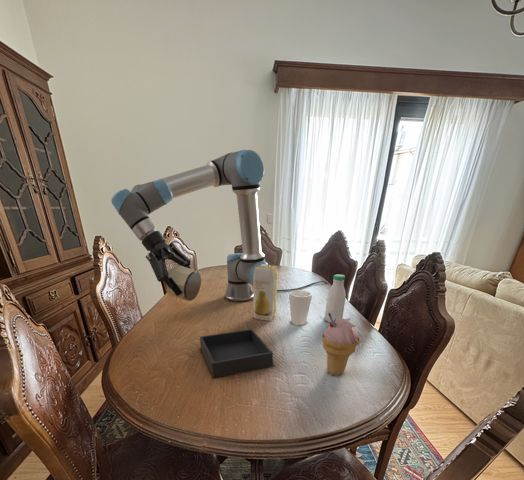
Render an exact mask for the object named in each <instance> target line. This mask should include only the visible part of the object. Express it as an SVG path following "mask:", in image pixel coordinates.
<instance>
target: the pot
mask: <svg viewBox="0 0 524 480" xmlns="http://www.w3.org/2000/svg"><path fill="white" fill-rule="evenodd" d="M168 276H169V278H170V277H171V278H172V279H173V280H174V282H175V283H176V284H177V286H178V287H179V288H180V290H181V291H182V293H181V294H180V295H178V296H176V294H175V293H174V292H173V290H172V289H170V288H169V287H168V285H167V284H166V283H165V285H166V286H165V287H166V292H167V293H168V294H169V295H171V296H172V297H175V298H178V299H181V300H183V301H186V302H192V301H194V300H195V299H196V298H197V296H198V295H199V292H200V290H201V285H202V276H201V274H200V273H199V272H198V271H196V269H193V268H191V269H190V268H187V267H184V266H180V265H178V264H177V265H175V266H173V267H172V268H170V270H169V272H168Z"/></svg>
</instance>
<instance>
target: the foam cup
mask: <svg viewBox="0 0 524 480" xmlns="http://www.w3.org/2000/svg"><path fill="white" fill-rule="evenodd" d="M288 298H289V308H290V309H289V310H290V322H291V324H293V325H295V326H303V325H305V324H307V319H308V315H309V311H310V307H311V302H312V298H313V293H312V292H310V291H308V290H302V289H297V290H290V291H289V296H288Z"/></svg>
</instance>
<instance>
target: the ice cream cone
mask: <svg viewBox="0 0 524 480" xmlns="http://www.w3.org/2000/svg"><path fill="white" fill-rule="evenodd" d="M328 315H329V317H330V320H331V322H329V325H330V326H329V325H328V326H329V327H328V328H327V329H326V328H325V331H324V332H323V333H322V334H321V340H322V342H323V343H322V348H323V350H324V351H325V352H326V369H327V372H328V373H329V375H331V376H335V377H338V376H341V375H343V373H345V370H346V367H347V364H348V360H349V358H350V356H351V355H353V354H354V353H355V352H356V351H357V347H358V346H359V345H360V341H361V338H360V335H359V332H358V331H357V330H356V329H355V327H356V325H355V324H353V323H352V322H350V321H346V320H345V319H346V318H342V319H335V320H334V321H333V319H332V316H331V314H330V313H328Z"/></svg>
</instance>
